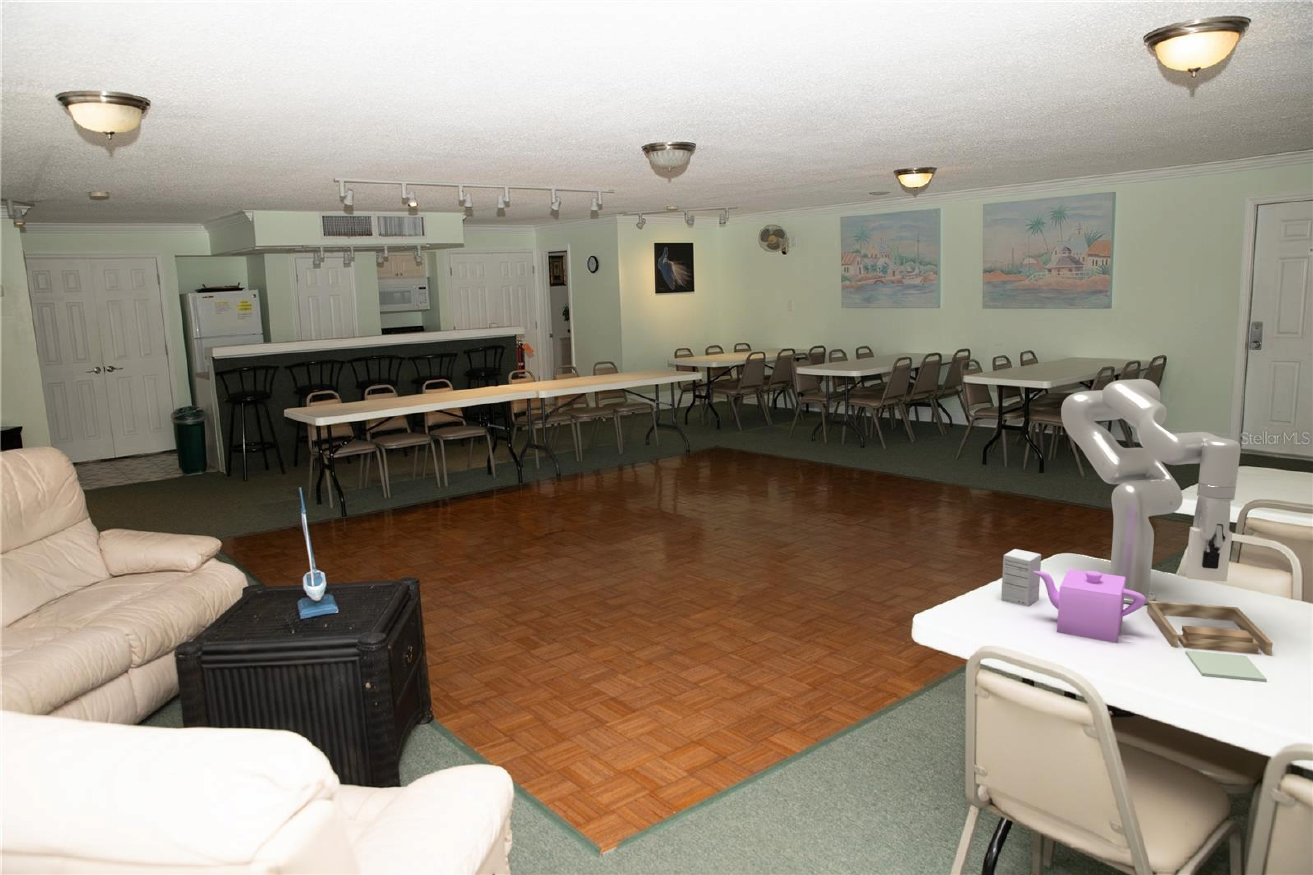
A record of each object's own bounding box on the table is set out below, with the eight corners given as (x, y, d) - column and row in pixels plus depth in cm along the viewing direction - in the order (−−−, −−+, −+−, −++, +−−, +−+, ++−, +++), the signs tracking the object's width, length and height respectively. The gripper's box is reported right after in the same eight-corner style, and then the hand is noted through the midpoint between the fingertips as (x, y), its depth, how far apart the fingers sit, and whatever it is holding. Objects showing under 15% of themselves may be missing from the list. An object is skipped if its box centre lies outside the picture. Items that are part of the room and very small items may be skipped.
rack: (1171, 646, 203) (1172, 634, 202) (1146, 611, 224) (1147, 600, 223) (1271, 655, 197) (1272, 642, 197) (1236, 618, 218) (1237, 607, 218)
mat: (1202, 675, 188) (1202, 673, 188) (1185, 652, 199) (1185, 650, 199) (1266, 681, 185) (1266, 679, 185) (1245, 658, 196) (1245, 655, 196)
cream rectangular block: (1188, 578, 210) (1193, 530, 208) (1184, 574, 213) (1190, 527, 211) (1226, 581, 208) (1232, 533, 206) (1222, 577, 211) (1228, 529, 209)
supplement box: (1012, 592, 239) (1014, 548, 237) (1039, 599, 234) (1042, 553, 231) (1000, 599, 234) (1002, 554, 231) (1027, 606, 228) (1030, 560, 226)
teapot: (1035, 607, 229) (1038, 555, 226) (1144, 625, 215) (1149, 571, 213) (1024, 626, 216) (1028, 572, 213) (1140, 647, 203) (1145, 589, 200)
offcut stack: (1183, 647, 202) (1185, 632, 202) (1177, 639, 207) (1178, 624, 206) (1258, 653, 198) (1259, 638, 198) (1250, 645, 203) (1252, 630, 202)
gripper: (1187, 481, 215) (1179, 553, 219) (1209, 499, 200) (1200, 575, 203) (1222, 483, 213) (1213, 555, 217) (1247, 501, 198) (1237, 578, 201)
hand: (1207, 564), depth 210 cm, fingers closed on cream rectangular block, 3 cm apart
